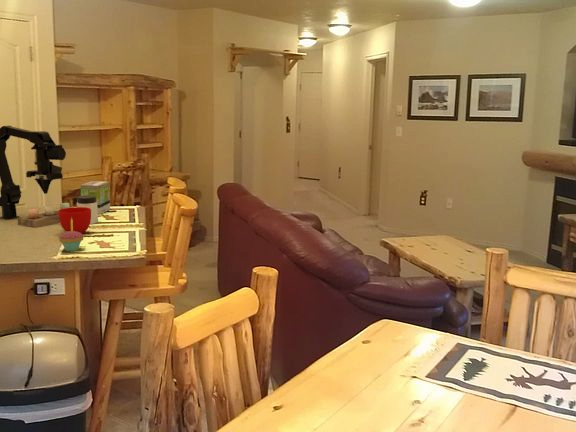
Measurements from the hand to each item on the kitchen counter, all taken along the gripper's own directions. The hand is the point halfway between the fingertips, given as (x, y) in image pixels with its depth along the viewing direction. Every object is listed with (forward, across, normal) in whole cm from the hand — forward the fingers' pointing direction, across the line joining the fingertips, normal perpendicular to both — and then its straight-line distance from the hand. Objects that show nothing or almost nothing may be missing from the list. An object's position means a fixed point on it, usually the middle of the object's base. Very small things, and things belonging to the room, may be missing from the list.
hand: (45, 193), depth 275 cm
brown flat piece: (+13, -2, 0) cm, 13 cm away
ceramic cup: (+13, -30, +10) cm, 35 cm away
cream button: (+10, -2, 0) cm, 10 cm away
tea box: (+13, -2, -27) cm, 30 cm away
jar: (+13, -19, -7) cm, 24 cm away
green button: (+10, -2, -8) cm, 13 cm away
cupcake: (+13, -54, +30) cm, 63 cm away
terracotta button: (+10, -3, +9) cm, 13 cm away
